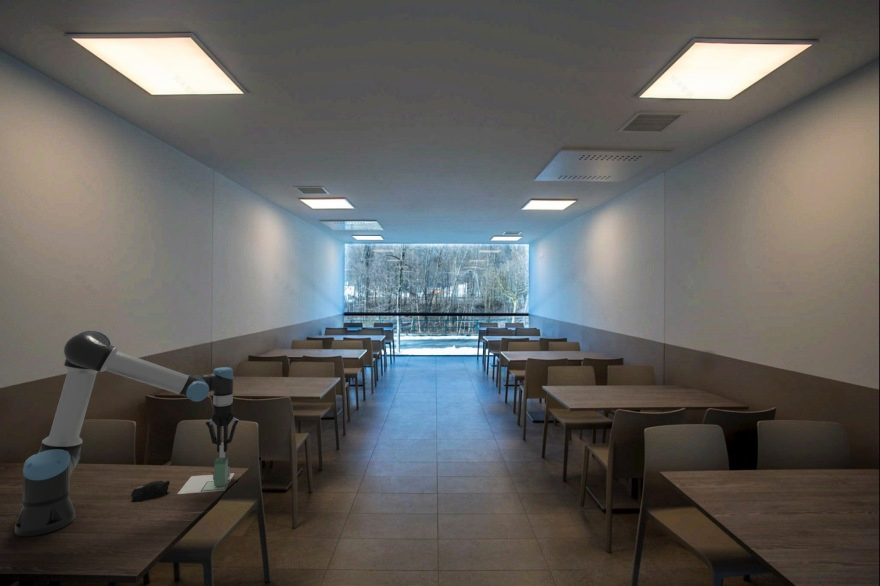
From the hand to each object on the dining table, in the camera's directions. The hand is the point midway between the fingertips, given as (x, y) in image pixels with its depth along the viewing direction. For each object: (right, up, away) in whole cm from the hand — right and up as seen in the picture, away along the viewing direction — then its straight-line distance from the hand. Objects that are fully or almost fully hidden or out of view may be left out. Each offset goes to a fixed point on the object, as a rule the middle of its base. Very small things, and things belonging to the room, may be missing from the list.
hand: (222, 459), depth 186 cm
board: (-3, -8, -6) cm, 11 cm away
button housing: (0, -8, 0) cm, 8 cm away
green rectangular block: (+4, -7, -9) cm, 12 cm away
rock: (-19, -8, -18) cm, 27 cm away
